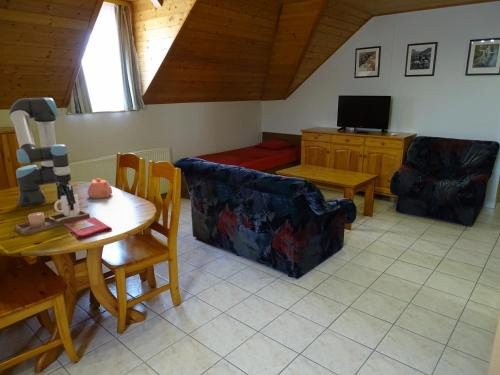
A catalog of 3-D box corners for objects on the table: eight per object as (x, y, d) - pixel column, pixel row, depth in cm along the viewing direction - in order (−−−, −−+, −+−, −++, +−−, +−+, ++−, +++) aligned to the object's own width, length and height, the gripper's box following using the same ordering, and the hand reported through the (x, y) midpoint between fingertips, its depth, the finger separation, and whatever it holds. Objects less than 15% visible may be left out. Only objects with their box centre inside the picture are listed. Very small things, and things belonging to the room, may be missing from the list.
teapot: (119, 197, 239) (117, 179, 236) (97, 202, 229) (94, 184, 226) (104, 191, 254) (102, 174, 251) (82, 195, 244) (80, 178, 240)
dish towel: (78, 241, 175) (78, 236, 174) (62, 227, 191) (61, 222, 190) (113, 231, 186) (112, 226, 185) (95, 219, 202) (94, 215, 202)
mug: (56, 218, 193) (53, 200, 190) (55, 214, 200) (52, 196, 197) (80, 214, 199) (78, 196, 196) (78, 210, 206) (76, 192, 203)
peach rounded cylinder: (28, 227, 187) (25, 214, 185) (42, 223, 192) (40, 211, 190) (33, 230, 183) (31, 217, 181) (48, 226, 188) (46, 214, 186)
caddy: (15, 230, 185) (14, 225, 185) (78, 213, 210) (77, 208, 209) (25, 237, 178) (24, 231, 177) (90, 218, 202) (89, 213, 201)
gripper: (46, 172, 196) (52, 211, 202) (64, 178, 183) (70, 220, 190) (60, 169, 202) (66, 208, 208) (79, 175, 189) (84, 216, 195)
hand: (68, 213), depth 199 cm, fingers closed on mug, 8 cm apart
